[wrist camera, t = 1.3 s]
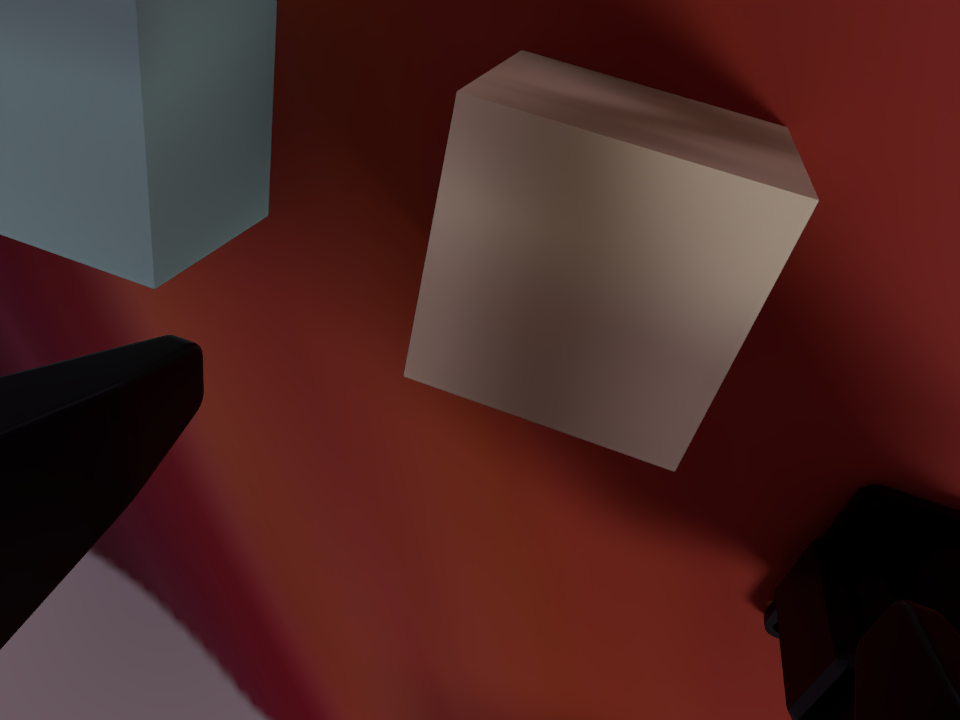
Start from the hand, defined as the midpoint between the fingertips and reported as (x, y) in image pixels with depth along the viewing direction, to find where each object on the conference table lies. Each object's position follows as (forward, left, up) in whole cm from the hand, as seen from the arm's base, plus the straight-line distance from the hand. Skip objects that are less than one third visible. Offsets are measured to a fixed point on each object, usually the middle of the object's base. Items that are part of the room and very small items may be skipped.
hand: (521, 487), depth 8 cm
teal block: (+12, 0, -10) cm, 16 cm away
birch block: (0, 0, -10) cm, 10 cm away
